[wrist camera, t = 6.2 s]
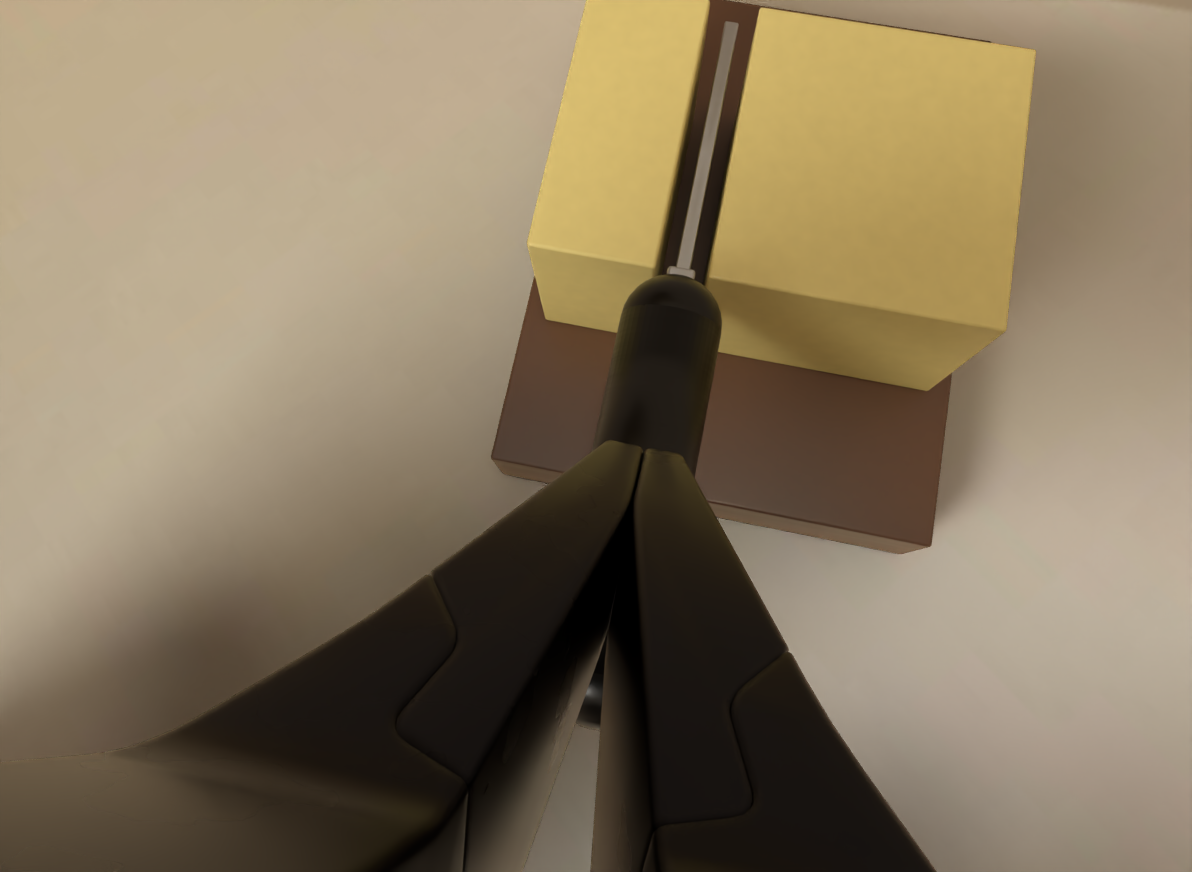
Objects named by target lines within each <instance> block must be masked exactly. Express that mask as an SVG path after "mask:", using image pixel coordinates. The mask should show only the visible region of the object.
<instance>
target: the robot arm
mask: <svg viewBox="0 0 1192 872" xmlns="http://www.w3.org/2000/svg"><path fill="white" fill-rule="evenodd" d="M642 457H643V458H642ZM613 602H614V603H613ZM612 606H613V608H612ZM611 611H612V613H611ZM610 616H611V618H610ZM609 620H610V624H609ZM608 624H609V630H608V636H607V644H606V654H605V667H604V681H603V696H602V710H601V725H600V739H599V754H598V768H597V782H596V797H595V811H594V826H593V840H592V855H591V869H590V872H937V871H936V870H935V868H934V867H933V866H932V864H931V863H930V861H929V860H928V859H927V857H926V856H925V855H924V853H923V852H922V850H921V849H920V848H919V846H918V845H917V843H916V842H915V841H914V839H913V838H912V836H911V835H910V834H909V832H908V831H907V829H906V828H905V827H904V825H903V824H902V822H901V821H900V820H899V818H898V817H897V816H896V814H895V813H894V811H893V810H892V809H891V807H890V806H889V804H888V803H887V802H886V800H885V799H884V797H883V796H882V795H881V793H880V792H879V790H878V789H877V788H876V786H875V785H874V783H873V782H872V781H871V779H870V778H869V777H868V775H867V774H866V772H865V771H864V769H863V768H862V767H861V765H860V764H859V762H858V761H857V759H856V758H855V756H854V755H853V753H852V752H851V750H850V749H849V747H848V746H847V744H846V743H845V741H844V740H843V739H842V737H841V736H840V734H839V733H838V731H837V730H836V728H835V727H834V725H833V724H832V722H831V721H830V719H829V717H828V716H827V714H826V712H825V711H824V709H823V707H822V706H821V704H820V702H819V701H818V699H817V697H816V695H815V694H814V692H813V690H812V689H811V687H810V685H809V684H808V682H807V680H806V679H805V677H804V675H803V673H802V671H801V670H800V668H799V666H798V664H797V662H796V660H795V658H794V657H793V655H792V654H791V653H789V652H788V646H787V645H786V643H785V641H784V639H783V637H782V636H781V634H780V632H779V630H778V628H777V626H776V625H775V623H774V621H773V619H772V617H771V616H770V614H769V612H768V610H767V608H766V607H765V605H764V603H763V601H762V599H761V597H760V596H759V594H758V592H757V590H756V588H755V587H754V585H753V583H752V581H751V579H750V578H749V576H748V574H747V572H746V570H745V569H744V567H743V565H742V563H741V561H740V559H739V558H738V556H737V554H736V552H735V550H734V549H733V547H732V545H731V543H730V541H729V540H728V538H727V536H726V534H725V532H724V530H723V529H722V527H721V525H720V523H719V521H718V520H717V518H716V516H715V514H714V512H713V511H712V509H711V507H710V505H709V503H708V501H707V500H706V498H705V496H704V494H703V492H702V491H701V489H700V487H699V485H698V483H697V482H696V480H695V478H694V476H693V474H692V472H691V471H690V469H689V467H688V465H687V463H686V462H685V460H684V458H683V457H682V456H681V455H680V454H678V453H674V452H669V451H664V450H658V449H653V448H649V449H646V450H645V451H644V454H643V450H642V448H641V447H640V446H638V445H633V444H628V443H623V442H618V441H613V440H609V441H606V442H604V443H603V444H602V445H600V446H599V447H598V448H596V449H595V450H594V451H592V452H591V453H589V454H588V455H587V456H585V457H584V458H583V459H581V460H580V461H579V462H577V463H576V464H575V465H573V466H572V467H571V468H569V469H568V470H567V471H565V472H564V473H563V474H561V475H560V476H559V477H557V478H556V479H555V480H553V481H552V482H551V483H549V484H548V485H546V486H545V487H544V488H542V489H541V490H540V491H538V492H537V493H536V494H534V495H533V496H532V497H530V498H529V499H528V500H526V501H525V502H524V503H522V504H521V505H520V506H518V507H517V508H516V509H514V510H513V511H512V512H510V513H509V514H507V515H506V516H505V517H503V518H502V519H501V520H499V521H498V522H497V523H495V524H494V525H493V526H491V527H490V528H489V529H487V530H486V531H485V532H483V533H482V534H481V535H479V536H478V537H477V538H475V539H474V540H473V541H471V542H470V543H468V544H467V545H466V546H464V547H463V548H462V549H460V550H459V551H458V552H456V553H455V554H454V555H452V556H451V557H450V558H448V559H447V560H446V561H444V562H443V563H442V564H440V565H439V566H438V567H436V568H435V569H434V570H432V571H431V573H430V575H425V576H424V577H422V578H421V579H420V580H418V581H417V582H416V583H414V584H413V585H411V586H410V587H409V588H407V589H406V590H405V591H403V592H402V593H401V594H399V595H398V596H396V597H395V598H393V599H392V600H391V601H389V602H388V603H386V604H385V605H383V606H382V607H380V608H379V609H378V610H376V611H375V612H373V613H372V614H370V615H369V616H368V617H366V618H365V619H363V620H361V621H360V622H358V623H357V624H355V625H353V626H352V627H350V628H348V629H347V630H345V631H344V632H342V633H340V634H339V635H337V636H335V637H334V638H332V639H330V640H329V641H327V642H326V643H324V644H322V645H321V646H319V647H317V648H316V649H314V650H312V651H311V652H309V653H307V654H305V655H304V656H302V657H300V658H298V659H297V660H295V661H293V662H291V663H290V664H288V665H286V666H285V667H283V668H281V669H279V670H278V671H276V672H274V673H272V674H271V675H269V676H267V677H266V678H264V679H262V680H260V681H259V682H257V683H255V684H253V685H252V686H250V687H248V688H246V689H245V690H243V691H241V692H240V693H238V694H236V695H234V696H233V697H231V698H229V699H227V700H226V701H224V702H222V703H220V704H219V705H217V706H215V707H214V708H212V709H210V710H208V711H207V712H205V713H203V714H201V715H200V716H198V717H196V718H194V719H192V720H190V721H189V722H187V723H185V724H183V725H181V726H179V727H177V728H175V729H173V730H171V731H169V732H166V733H164V734H162V735H159V736H157V737H155V738H153V739H150V740H147V741H144V742H141V743H138V744H135V745H132V746H129V747H125V748H121V749H116V750H112V751H107V752H101V753H93V754H84V755H73V756H62V757H51V758H40V759H29V760H18V761H7V762H0V872H522V871H523V869H524V866H525V863H526V860H527V857H528V855H529V852H530V849H531V846H532V843H533V841H534V838H535V835H536V832H537V829H538V827H539V824H540V821H541V818H542V815H543V813H544V810H545V807H546V804H547V801H548V799H549V796H550V793H551V790H552V787H553V785H554V782H555V779H556V776H557V773H558V771H559V768H560V765H561V762H562V759H563V756H564V754H565V751H566V748H567V745H568V742H569V740H570V737H571V734H572V731H573V728H574V726H575V723H576V720H577V717H578V714H579V712H580V709H581V706H582V703H583V700H584V698H585V695H586V692H587V689H588V686H589V684H590V681H591V678H592V675H593V672H594V670H595V667H596V664H597V661H598V658H599V656H600V652H601V649H602V646H603V643H604V640H605V637H606V633H607V629H608Z"/></svg>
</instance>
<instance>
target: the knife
mask: <svg viewBox="0 0 1192 872" xmlns="http://www.w3.org/2000/svg"><path fill="white" fill-rule="evenodd" d="M738 26H739V24H738V23H735V22H728V21H726V22H725V24H724V29H723V34H722V39H721V44H720V49H719V54H718V59H717V64H716V69H715V74H714V79H713V84H712V89H711V94H710V99H709V103H708V108H707V113H706V118H705V123H704V128H703V133H702V138H701V143H700V148H699V153H698V158H697V163H696V168H695V173H694V178H693V183H692V188H691V193H690V198H689V203H688V208H687V213H686V218H685V223H684V228H683V233H682V237H681V242H680V247H679V252H678V257H677V262H676V267H675V266H669V268H668V270H667V274H664V275H659V276H656V277H653V278H650V279H648V280H646V281H645V282H643V283H642V284H640V285H639V286H638V287H637V288H636V289H635V290H634V291H633V292H632V293H631V294H630V296H629V297H628V299H627V301H626V302H625V304H624V307H623V310H622V313H621V317H620V321H619V326H618V331H617V335H616V340H615V345H614V349H613V354H612V359H611V363H610V368H609V373H608V377H607V382H606V387H605V391H604V396H603V401H602V406H601V410H600V415H599V420H598V424H597V429H596V434H595V438H594V443H593V448H592V451H594V450H595V449H596V448H598V447H599V446H600V445H602V444H603V443H604V442H606V441H609V440H613V441H618V442H623V443H628V444H633V445H638V446H640V447H641V448H642V450H643V454H644V451H645V450H646V449H649V448H653V449H658V450H664V451H669V452H674V453H678V454H680V455H681V456H682V457H683V458H684V460H685V462H686V463H687V465H688V467H689V469H690V471H691V472H692V474H693V476H694V478H695V474H696V468H697V463H698V457H699V452H700V447H701V441H702V436H703V430H704V425H705V419H706V414H707V409H708V403H709V398H710V392H711V387H712V382H713V376H714V371H715V365H716V360H717V355H718V349H719V344H720V338H721V330H722V318H721V312H720V309H719V306H718V304H717V301H716V300H715V298H714V296H713V295H712V293H711V292H710V291H709V290H708V289H707V288H706V287H705V286H704V285H703V284H701V283H700V282H698V281H696V280H694V278H695V271H694V270H691V266H692V260H693V255H694V250H695V245H696V240H697V235H698V230H699V225H700V220H701V215H702V210H703V205H704V200H705V194H706V189H707V184H708V179H709V174H710V169H711V164H712V159H713V154H714V149H715V144H716V139H717V134H718V129H719V123H720V118H721V113H722V108H723V103H724V98H725V93H726V88H727V83H728V77H729V72H730V67H731V62H732V57H733V52H734V47H735V42H736V36H737V31H738ZM642 458H643V457H642ZM613 603H614V602H613ZM612 608H613V606H612ZM611 613H612V611H611ZM610 618H611V616H610ZM609 624H610V620H609ZM609 624H608V629H607V633H606V637H605V640H604V643H603V646H602V649H601V652H600V656H599V658H598V661H597V664H596V667H595V670H594V672H593V675H592V678H591V681H590V684H589V686H588V689H587V692H586V695H585V698H584V700H583V703H582V706H581V709H580V712H579V714H578V717H577V720H576V724H578V725H580V726H582V727H585V728H588V729H593V730H600V725H601V710H602V696H603V681H604V667H605V654H606V644H607V636H608V630H609Z"/></svg>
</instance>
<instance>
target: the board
mask: <svg viewBox="0 0 1192 872" xmlns="http://www.w3.org/2000/svg"><path fill="white" fill-rule="evenodd" d="M709 1H710V9H709V16H708V23H707V30H706V37H705V44H704V51H703V58H702V65H701V72H700V79H699V86H698V93H697V100H696V107H695V114H694V120H693V125H692V130H691V134H690V139H689V144H688V149H687V154H686V159H685V164H684V169H683V173H682V178H681V183H680V188H679V193H678V198H677V203H676V208H675V213H674V217H673V222H672V227H671V232H670V237H669V242H668V247H667V252H666V256H665V261H664V266H663V271H662V275H664V274H667V270H668V268H669V266H675V267H676V262H677V257H678V252H679V247H680V242H681V237H682V233H683V228H684V223H685V218H686V213H687V208H688V203H689V198H690V193H691V188H692V183H693V178H694V173H695V168H696V163H697V158H698V153H699V148H700V143H701V138H702V133H703V128H704V123H705V118H706V113H707V108H708V103H709V99H710V94H711V89H712V84H713V79H714V74H715V69H716V64H717V59H718V54H719V49H720V44H721V39H722V34H723V29H724V24H725V22H726V21H728V22H735V23H738V24H739V26H738V31H737V36H736V42H735V47H734V52H733V57H732V62H731V67H730V72H729V77H728V83H727V88H726V93H725V98H724V103H723V108H722V113H721V118H720V123H719V129H718V134H717V139H716V144H715V149H714V154H713V159H712V164H711V169H710V174H709V179H708V184H707V189H706V194H705V200H704V205H703V210H702V215H701V220H700V225H699V230H698V235H697V240H696V245H695V250H694V255H693V260H692V266H691V270H694V271H695V278H694V280H696V281H698V282H700V283H701V284H703V281H704V276H705V271H706V266H707V261H708V255H709V250H710V245H711V240H712V235H713V229H714V224H715V219H716V214H717V209H718V203H719V198H720V193H721V188H722V183H723V178H724V172H725V167H726V162H727V157H728V152H729V146H730V141H731V136H732V131H733V126H734V121H735V116H736V112H737V108H738V103H739V99H740V94H741V90H742V85H743V81H744V76H745V72H746V67H747V63H748V58H749V54H750V49H751V45H752V40H753V36H754V32H755V27H756V23H757V18H758V14H759V10H760V8H762V7H763V8H770V9H776V10H783V11H789V12H796V13H802V14H808V15H815V16H821V17H828V18H834V19H841V20H847V21H853V22H860V23H866V24H873V25H879V26H886V27H892V28H899V29H905V30H911V31H918V32H924V33H931V34H937V35H944V36H950V37H956V38H963V39H969V40H976V41H982V42H989V43H991V42H990V41H984V40H978V39H971V38H965V37H958V36H952V35H945V34H939V33H933V32H926V31H920V30H913V29H907V28H900V27H894V26H887V25H881V24H875V23H868V22H862V21H855V20H849V19H842V18H836V17H830V16H823V15H817V14H810V13H804V12H797V11H791V10H784V9H778V8H772V7H765V6H759V5H752V4H746V3H739V2H733V1H726V0H709ZM616 335H617V333H615V332H610V331H604V330H599V329H594V328H588V327H583V326H578V325H572V324H567V323H562V322H556V321H551V320H547V319H545V315H544V311H543V307H542V303H541V299H540V295H539V291H538V287H537V282H536V278H535V276H534V280H533V284H532V288H531V292H530V296H529V300H528V305H527V309H526V313H525V317H524V321H523V325H522V330H521V334H520V338H519V342H518V346H517V350H516V354H515V359H514V363H513V367H512V371H511V375H510V379H509V384H508V388H507V392H506V396H505V400H504V404H503V408H502V413H501V417H500V421H499V425H498V429H497V433H496V438H495V442H494V446H493V450H492V454H491V459H492V460H493V461H494V462H495V464H496V465H497V466H498V468H499V469H500V470H501V472H502V473H503V474H506V475H511V476H516V477H521V478H526V479H530V480H535V481H540V482H545V483H551V482H552V481H553V480H555V479H556V478H557V477H559V476H560V475H561V474H563V473H564V472H565V471H567V470H568V469H569V468H571V467H572V466H573V465H575V464H576V463H577V462H579V461H580V460H581V459H583V458H584V457H585V456H587V455H588V454H589V453H591V452H592V448H593V443H594V438H595V434H596V429H597V424H598V420H599V415H600V410H601V406H602V401H603V396H604V391H605V387H606V382H607V377H608V373H609V368H610V363H611V359H612V354H613V349H614V345H615V340H616ZM951 378H952V373H951V374H949V375H948V376H947V377H945V378H944V379H943V380H942V381H940V382H939V383H938V384H936V385H935V386H934V387H932V388H931V389H930V390H929V391H924V390H919V389H913V388H908V387H903V386H897V385H892V384H887V383H881V382H876V381H871V380H865V379H860V378H855V377H849V376H844V375H838V374H833V373H828V372H822V371H817V370H812V369H806V368H801V367H796V366H790V365H785V364H780V363H774V362H769V361H764V360H758V359H753V358H748V357H742V356H737V355H732V354H726V353H721V352H718V355H717V360H716V365H715V371H714V376H713V382H712V387H711V392H710V398H709V403H708V409H707V414H706V419H705V425H704V430H703V436H702V441H701V447H700V452H699V457H698V463H697V468H696V474H695V480H696V482H697V483H698V485H699V487H700V489H701V491H702V492H703V494H704V496H705V498H706V500H707V501H708V503H709V505H710V507H711V509H712V511H713V512H714V514H715V516H716V517H719V518H724V519H729V520H733V521H738V522H743V523H748V524H753V525H758V526H763V527H768V528H773V529H778V530H783V531H788V532H793V533H798V534H803V535H808V536H813V537H818V538H823V539H828V540H832V541H837V542H842V543H847V544H852V545H857V546H862V547H867V548H872V549H877V550H882V551H887V552H892V553H897V554H903V553H907V552H911V551H915V550H919V549H923V548H927V547H930V546H931V544H932V536H933V528H934V519H935V511H936V503H937V494H938V486H939V478H940V469H941V461H942V453H943V444H944V436H945V428H946V419H947V411H948V403H949V394H950V386H951Z"/></svg>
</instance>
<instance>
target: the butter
mask: <svg viewBox="0 0 1192 872" xmlns="http://www.w3.org/2000/svg"><path fill="white" fill-rule="evenodd" d="M709 9H710V1H709V0H586V4H585V8H584V12H583V16H582V20H581V24H580V28H579V32H578V36H577V40H576V44H575V48H574V53H573V57H572V61H571V65H570V69H569V73H568V77H567V81H566V85H565V89H564V93H563V97H562V102H561V106H560V110H559V114H558V118H557V122H556V126H555V130H554V134H553V138H552V142H551V146H550V151H549V155H548V159H547V163H546V167H545V171H544V175H543V179H542V183H541V187H540V191H539V195H538V199H537V204H536V208H535V212H534V216H533V220H532V224H531V228H530V232H529V236H528V240H527V246H528V250H529V254H530V258H531V262H532V266H533V270H534V274H535V278H536V282H537V287H538V291H539V295H540V299H541V303H542V307H543V311H544V315H545V319H547V320H551V321H556V322H562V323H567V324H572V325H578V326H583V327H588V328H594V329H599V330H604V331H610V332H615V333H617V331H618V326H619V321H620V317H621V313H622V310H623V307H624V304H625V302H626V301H627V299H628V297H629V296H630V294H631V293H632V292H633V291H634V290H635V289H636V288H637V287H638V286H639V285H640V284H642V283H643V282H645V281H646V280H648V279H650V278H653V277H656V276H659V275H662V271H663V266H664V261H665V256H666V252H667V247H668V242H669V237H670V232H671V227H672V222H673V217H674V213H675V208H676V203H677V198H678V193H679V188H680V183H681V178H682V173H683V169H684V164H685V159H686V154H687V149H688V144H689V139H690V134H691V130H692V125H693V120H694V114H695V107H696V100H697V93H698V86H699V79H700V72H701V65H702V58H703V51H704V44H705V37H706V30H707V23H708V16H709ZM1035 56H1036V50H1034V49H1027V48H1021V47H1014V46H1008V45H1002V44H995V43H989V42H982V41H976V40H969V39H963V38H956V37H950V36H944V35H937V34H931V33H924V32H918V31H911V30H905V29H899V28H892V27H886V26H879V25H873V24H866V23H860V22H853V21H847V20H841V19H834V18H828V17H821V16H815V15H808V14H802V13H796V12H789V11H783V10H776V9H770V8H763V7H762V8H760V10H759V14H758V18H757V23H756V27H755V32H754V36H753V40H752V45H751V49H750V54H749V58H748V63H747V67H746V72H745V76H744V81H743V85H742V90H741V94H740V99H739V103H738V108H737V112H736V116H735V121H734V126H733V131H732V136H731V141H730V146H729V152H728V157H727V162H726V167H725V172H724V178H723V183H722V188H721V193H720V198H719V203H718V209H717V214H716V219H715V224H714V229H713V235H712V240H711V245H710V250H709V255H708V261H707V266H706V271H705V276H704V281H703V285H704V286H705V287H706V288H707V289H708V290H709V291H710V292H711V293H712V295H713V296H714V298H715V300H716V301H717V304H718V306H719V309H720V312H721V318H722V330H721V338H720V344H719V349H718V352H721V353H726V354H732V355H737V356H742V357H748V358H753V359H758V360H764V361H769V362H774V363H780V364H785V365H790V366H796V367H801V368H806V369H812V370H817V371H822V372H828V373H833V374H838V375H844V376H849V377H855V378H860V379H865V380H871V381H876V382H881V383H887V384H892V385H897V386H903V387H908V388H913V389H919V390H924V391H929V390H930V389H931V388H932V387H934V386H935V385H936V384H938V383H939V382H940V381H942V380H943V379H944V378H945V377H947V376H948V375H949V374H951V373H952V372H953V371H955V370H956V369H957V368H958V367H960V366H961V365H962V364H964V363H965V362H966V361H968V360H969V359H970V358H971V357H973V356H974V355H975V354H977V353H978V352H979V351H981V350H982V349H983V348H984V347H986V346H987V345H988V344H990V343H991V342H992V341H994V340H995V339H996V338H998V337H999V336H1000V335H1001V334H1003V333H1004V332H1005V331H1006V328H1007V319H1008V310H1009V300H1010V291H1011V281H1012V272H1013V263H1014V253H1015V244H1016V235H1017V225H1018V216H1019V206H1020V197H1021V188H1022V178H1023V169H1024V159H1025V150H1026V141H1027V131H1028V122H1029V112H1030V103H1031V94H1032V84H1033V75H1034V65H1035Z"/></svg>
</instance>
